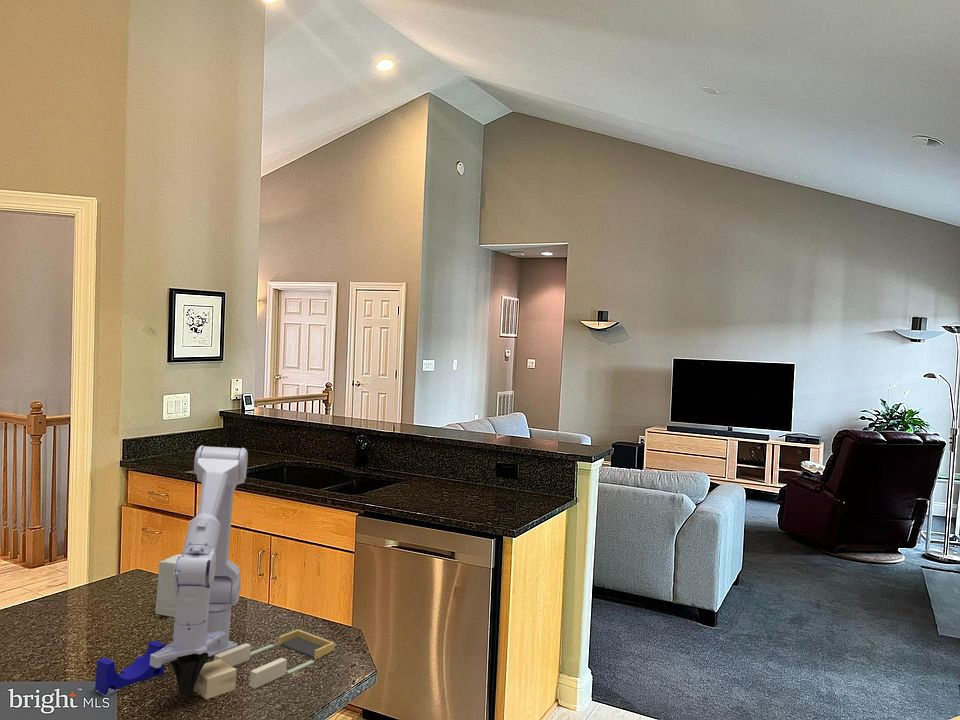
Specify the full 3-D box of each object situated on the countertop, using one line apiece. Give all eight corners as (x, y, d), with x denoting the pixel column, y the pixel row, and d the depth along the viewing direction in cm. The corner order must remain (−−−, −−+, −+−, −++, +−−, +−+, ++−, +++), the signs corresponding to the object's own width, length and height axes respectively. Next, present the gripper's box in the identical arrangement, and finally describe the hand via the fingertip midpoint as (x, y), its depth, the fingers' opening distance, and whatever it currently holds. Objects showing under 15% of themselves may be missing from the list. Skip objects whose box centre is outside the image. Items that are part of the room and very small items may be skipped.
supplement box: (182, 619, 169) (186, 565, 169) (154, 614, 170) (158, 561, 170) (200, 608, 176) (204, 557, 176) (173, 604, 177) (177, 552, 177)
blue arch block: (148, 668, 144) (150, 638, 144) (163, 674, 142) (165, 644, 142) (90, 689, 134) (92, 657, 133) (104, 697, 131) (107, 664, 131)
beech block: (189, 688, 137) (190, 668, 137) (218, 679, 142) (219, 659, 142) (206, 700, 133) (207, 679, 133) (235, 690, 138) (236, 669, 138)
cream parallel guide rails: (213, 670, 145) (214, 655, 145) (244, 657, 152) (246, 643, 152) (254, 688, 139) (256, 673, 138) (285, 674, 145) (287, 659, 145)
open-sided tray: (278, 644, 159) (279, 636, 159) (297, 637, 164) (297, 629, 164) (316, 659, 153) (316, 650, 153) (334, 651, 158) (334, 642, 158)
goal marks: (245, 655, 152) (245, 654, 152) (270, 645, 158) (270, 644, 158) (289, 674, 146) (289, 672, 146) (314, 662, 152) (314, 661, 152)
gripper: (170, 637, 124) (164, 715, 124) (238, 614, 136) (232, 685, 136) (144, 626, 127) (139, 702, 128) (213, 604, 140) (208, 674, 140)
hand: (185, 693), depth 132 cm, fingers closed
